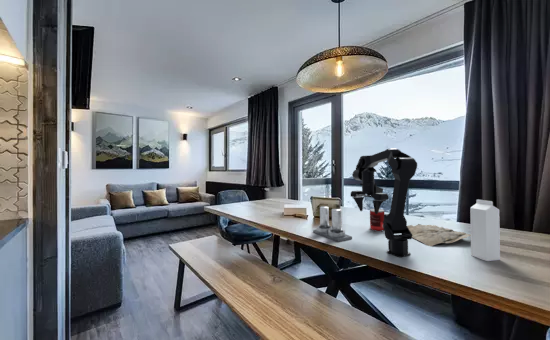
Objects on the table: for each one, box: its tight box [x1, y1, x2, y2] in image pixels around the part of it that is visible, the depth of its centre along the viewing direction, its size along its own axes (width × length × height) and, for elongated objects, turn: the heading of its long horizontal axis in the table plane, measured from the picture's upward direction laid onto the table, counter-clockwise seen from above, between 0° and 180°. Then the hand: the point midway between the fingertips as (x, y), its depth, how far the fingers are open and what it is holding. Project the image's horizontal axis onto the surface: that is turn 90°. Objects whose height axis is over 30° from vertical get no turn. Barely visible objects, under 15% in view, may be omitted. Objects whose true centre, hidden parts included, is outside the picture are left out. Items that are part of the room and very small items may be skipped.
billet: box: [331, 208, 343, 233], centre depth 120 cm, size 5×5×13 cm
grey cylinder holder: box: [312, 205, 353, 243], centre depth 124 cm, size 20×9×14 cm, turn 27°
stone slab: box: [407, 223, 471, 247], centre depth 119 cm, size 33×27×5 cm
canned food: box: [369, 208, 386, 232], centre depth 134 cm, size 8×8×11 cm
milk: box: [469, 198, 501, 262], centre depth 90 cm, size 6×6×22 cm
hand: (368, 212), depth 116 cm, fingers open, 9 cm apart
